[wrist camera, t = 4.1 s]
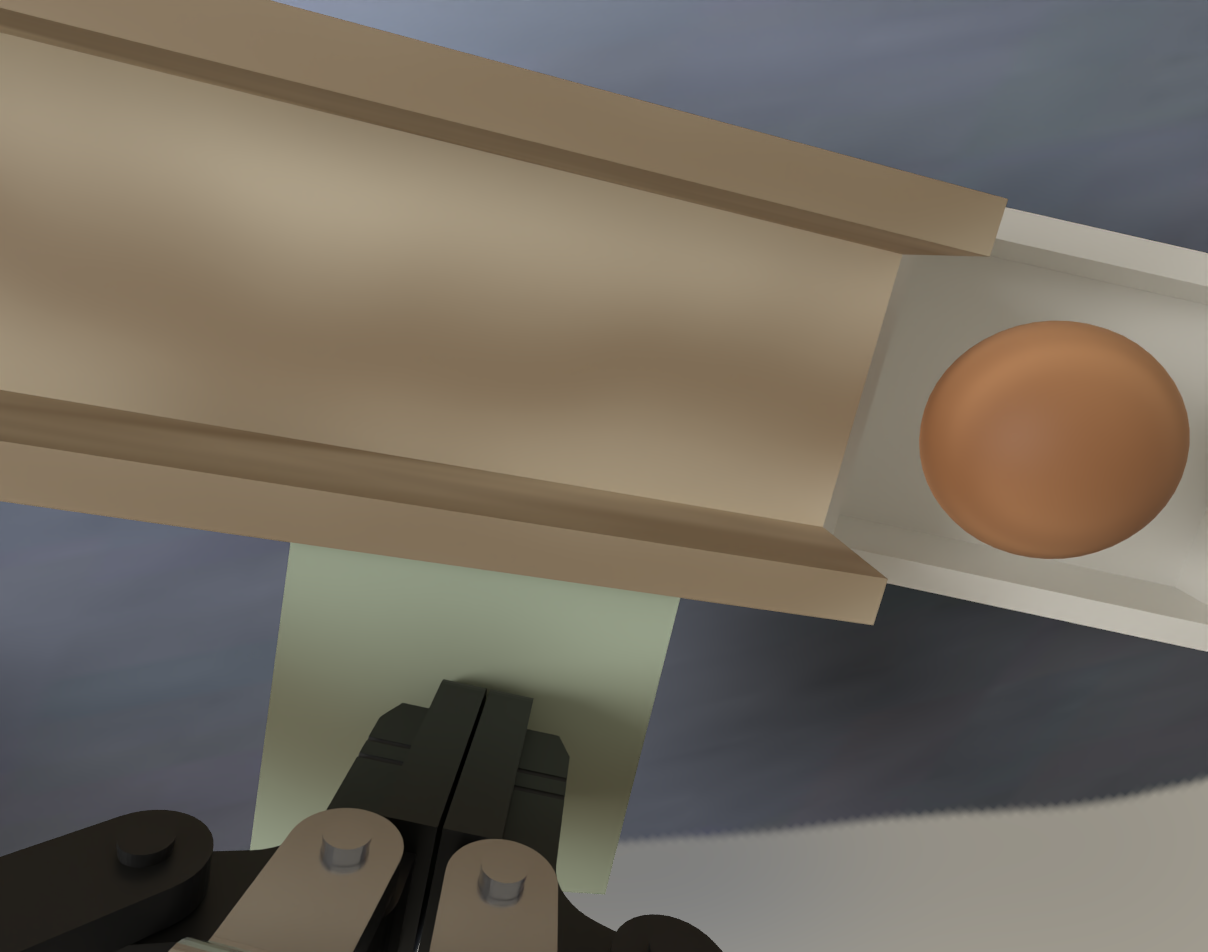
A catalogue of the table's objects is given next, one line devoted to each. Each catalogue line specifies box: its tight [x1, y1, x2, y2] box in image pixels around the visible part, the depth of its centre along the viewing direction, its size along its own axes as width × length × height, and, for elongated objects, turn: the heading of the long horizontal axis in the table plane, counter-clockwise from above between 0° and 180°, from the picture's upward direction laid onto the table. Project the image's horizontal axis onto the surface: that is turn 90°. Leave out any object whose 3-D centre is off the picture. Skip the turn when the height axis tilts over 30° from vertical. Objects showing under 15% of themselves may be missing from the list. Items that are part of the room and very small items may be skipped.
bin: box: [823, 207, 1208, 652], centre depth 19 cm, size 8×11×4 cm
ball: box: [919, 321, 1190, 559], centre depth 14 cm, size 4×4×4 cm
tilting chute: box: [0, 0, 1008, 894], centre depth 13 cm, size 13×24×6 cm, turn 78°
